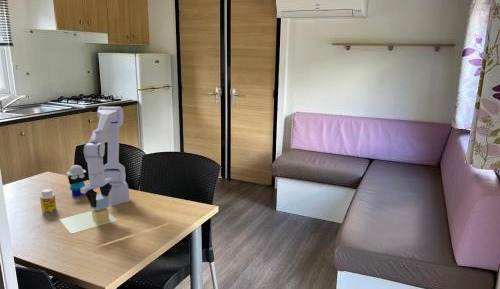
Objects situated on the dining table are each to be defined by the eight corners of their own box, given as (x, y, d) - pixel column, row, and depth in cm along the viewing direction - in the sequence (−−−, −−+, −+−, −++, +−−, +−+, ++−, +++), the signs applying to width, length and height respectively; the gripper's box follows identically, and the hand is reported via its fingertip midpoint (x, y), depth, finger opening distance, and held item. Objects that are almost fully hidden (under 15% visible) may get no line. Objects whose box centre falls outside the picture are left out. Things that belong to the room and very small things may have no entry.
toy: (69, 199, 175) (65, 169, 172) (68, 193, 183) (65, 163, 179) (89, 196, 179) (86, 166, 175) (87, 190, 187) (84, 161, 183)
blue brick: (100, 204, 156) (99, 194, 155) (109, 206, 154) (108, 196, 153) (90, 208, 152) (89, 198, 151) (99, 210, 149) (98, 200, 148)
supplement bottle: (43, 216, 158) (39, 193, 155) (41, 211, 162) (38, 189, 160) (57, 213, 161) (54, 191, 158) (56, 209, 165) (53, 187, 163)
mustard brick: (104, 215, 157) (103, 205, 156) (109, 219, 154) (108, 209, 153) (92, 219, 154) (91, 209, 153) (96, 223, 151) (95, 213, 149)
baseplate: (103, 209, 165) (103, 207, 165) (117, 221, 154) (117, 220, 154) (59, 220, 154) (59, 219, 154) (71, 235, 142) (71, 233, 142)
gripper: (103, 166, 157) (106, 196, 160) (73, 176, 145) (77, 208, 148) (115, 168, 154) (118, 199, 157) (86, 179, 141) (89, 212, 145)
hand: (99, 204), depth 152 cm, fingers closed on blue brick, 5 cm apart
